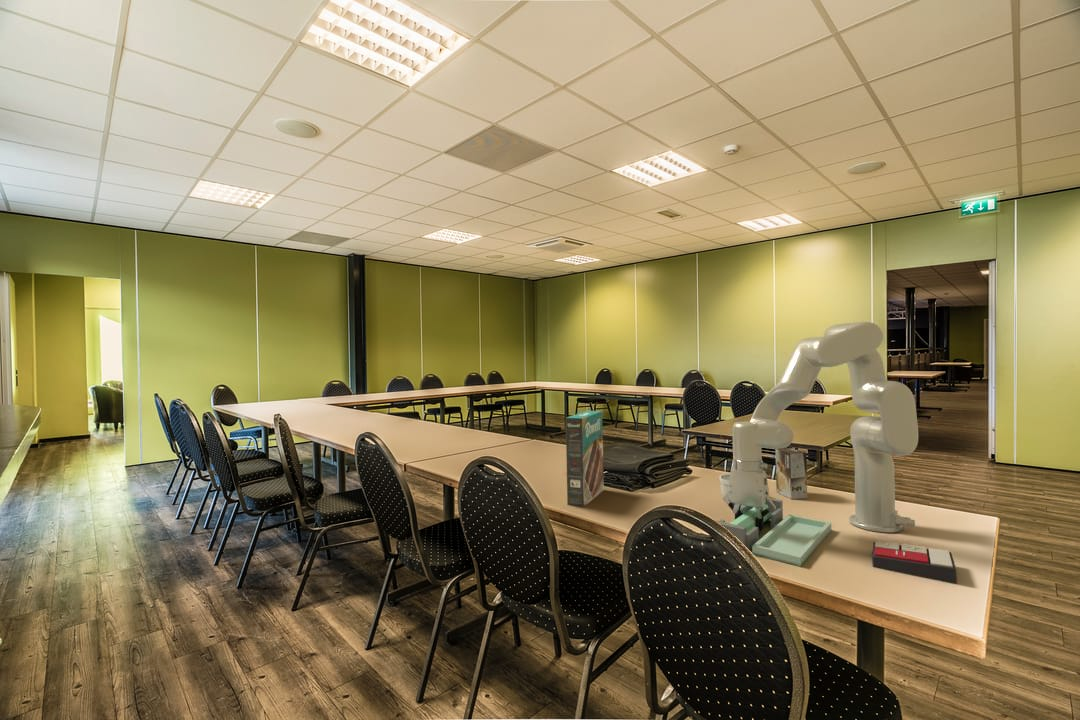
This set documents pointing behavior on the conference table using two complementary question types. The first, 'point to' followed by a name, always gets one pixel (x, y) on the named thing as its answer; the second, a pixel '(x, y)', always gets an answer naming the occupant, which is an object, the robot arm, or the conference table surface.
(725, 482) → the ramekin
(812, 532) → the tray
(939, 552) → the black switch panel
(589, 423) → the cake mix box
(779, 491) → the coffee box
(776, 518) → the bay
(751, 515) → the green hexagonal bar
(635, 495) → the conference table surface
